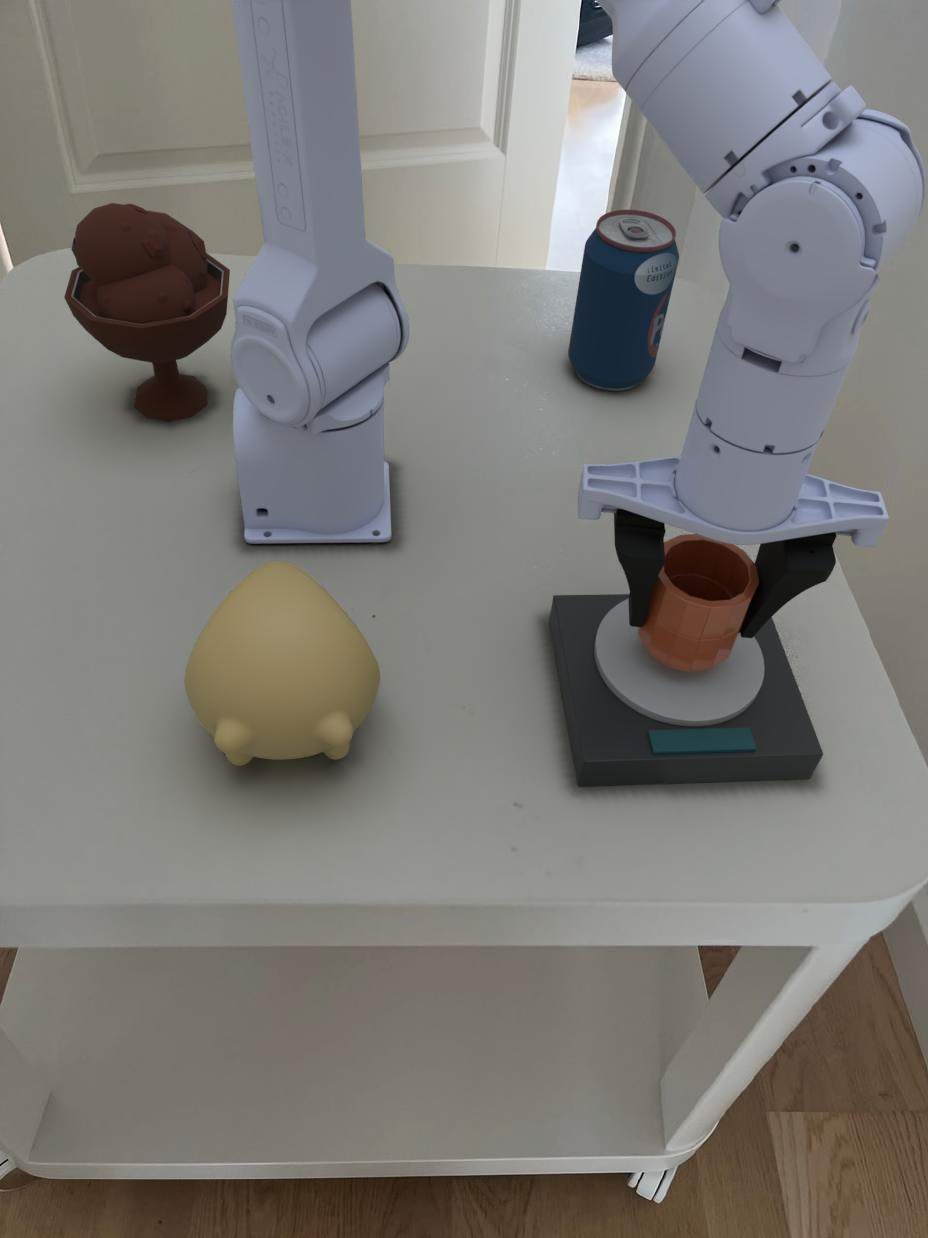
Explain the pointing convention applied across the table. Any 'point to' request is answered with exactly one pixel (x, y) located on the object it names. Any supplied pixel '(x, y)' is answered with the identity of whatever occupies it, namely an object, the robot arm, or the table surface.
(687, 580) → the terracotta cup
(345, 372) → the robot arm
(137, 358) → the ice cream bowl
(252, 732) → the toy pig
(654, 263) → the soda can
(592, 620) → the scale
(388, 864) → the table surface
